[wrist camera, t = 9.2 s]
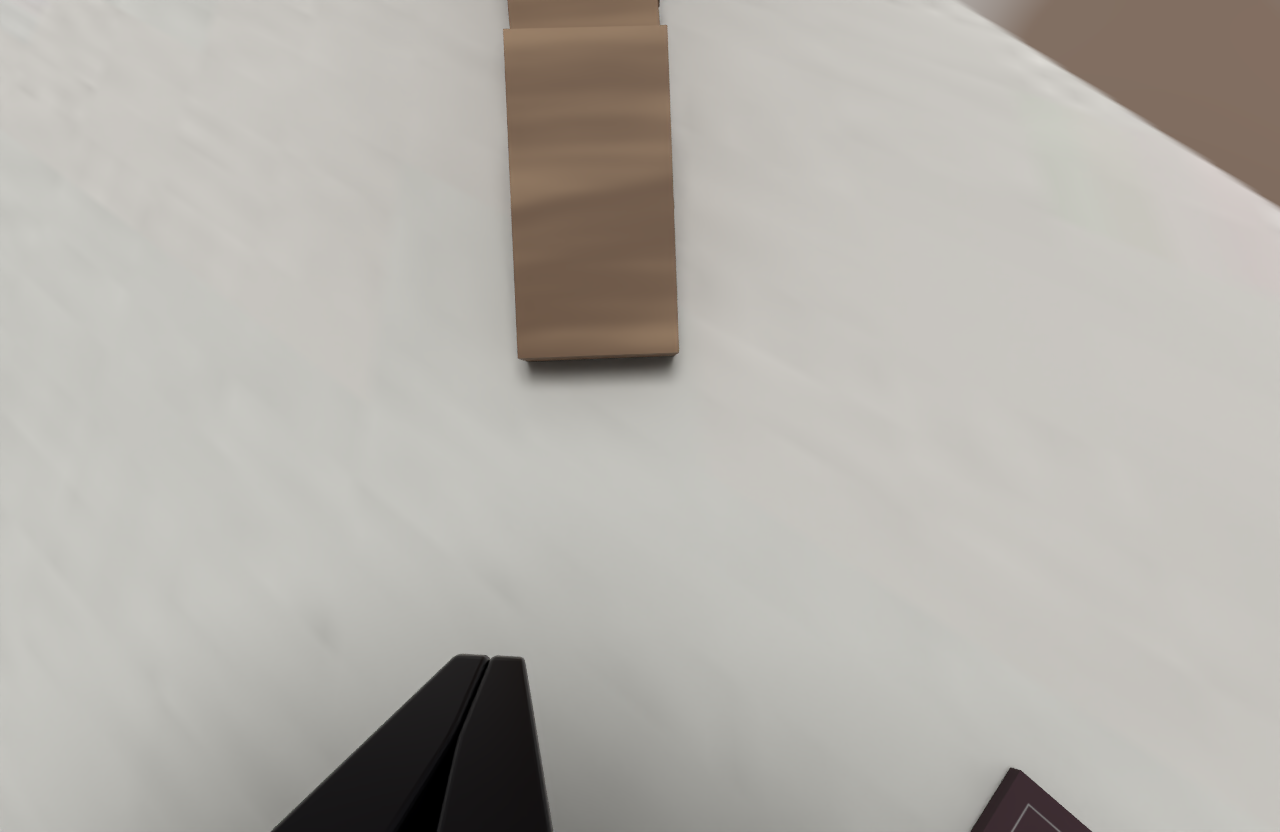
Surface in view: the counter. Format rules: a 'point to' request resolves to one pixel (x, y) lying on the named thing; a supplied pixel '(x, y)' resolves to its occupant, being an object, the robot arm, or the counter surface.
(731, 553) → the counter surface
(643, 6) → the domino
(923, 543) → the counter surface
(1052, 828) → the chocolate bar
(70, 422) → the counter surface
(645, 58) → the domino
